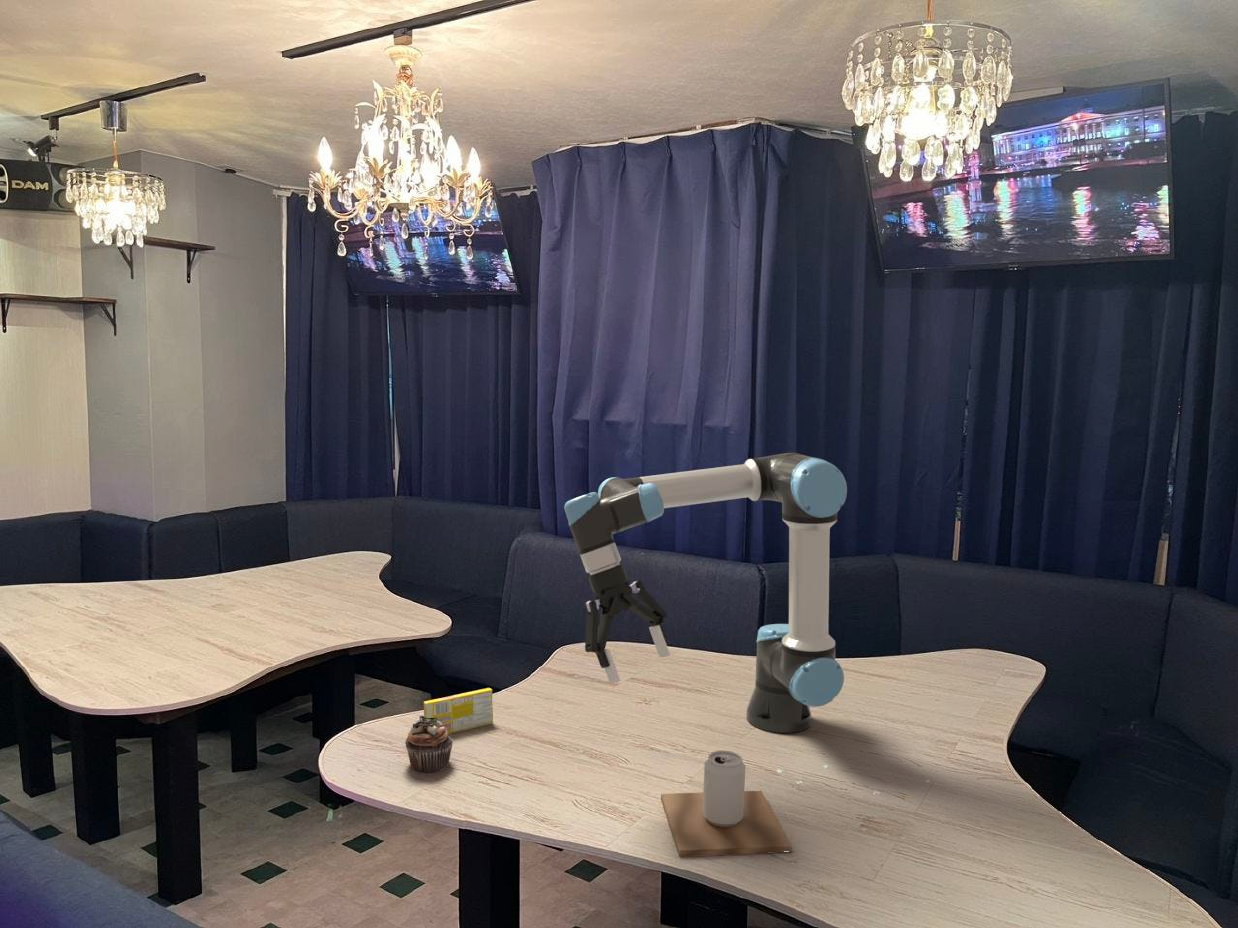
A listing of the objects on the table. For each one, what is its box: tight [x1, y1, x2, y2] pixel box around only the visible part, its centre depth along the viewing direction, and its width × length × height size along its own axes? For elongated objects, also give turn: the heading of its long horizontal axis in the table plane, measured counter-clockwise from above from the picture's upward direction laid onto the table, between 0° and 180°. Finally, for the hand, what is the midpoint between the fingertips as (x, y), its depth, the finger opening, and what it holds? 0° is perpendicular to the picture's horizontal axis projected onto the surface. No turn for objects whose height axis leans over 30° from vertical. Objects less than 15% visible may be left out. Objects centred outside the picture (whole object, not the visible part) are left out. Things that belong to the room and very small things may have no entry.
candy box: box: [423, 687, 494, 735], centre depth 206 cm, size 16×2×8 cm, turn 123°
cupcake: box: [405, 715, 454, 774], centre depth 188 cm, size 10×10×10 cm
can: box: [702, 750, 746, 827], centre depth 167 cm, size 8×8×12 cm
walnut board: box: [660, 790, 793, 858], centre depth 167 cm, size 20×20×1 cm
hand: (640, 668), depth 182 cm, fingers open, 13 cm apart
